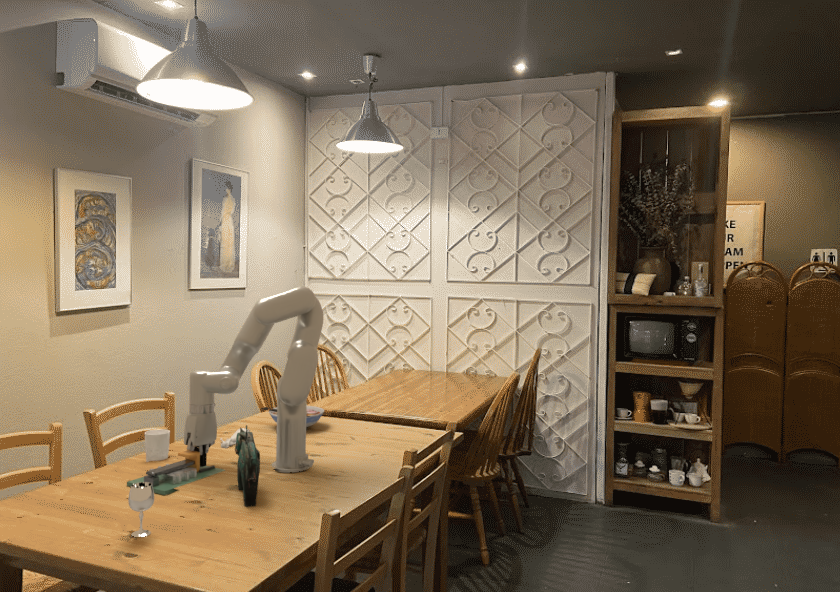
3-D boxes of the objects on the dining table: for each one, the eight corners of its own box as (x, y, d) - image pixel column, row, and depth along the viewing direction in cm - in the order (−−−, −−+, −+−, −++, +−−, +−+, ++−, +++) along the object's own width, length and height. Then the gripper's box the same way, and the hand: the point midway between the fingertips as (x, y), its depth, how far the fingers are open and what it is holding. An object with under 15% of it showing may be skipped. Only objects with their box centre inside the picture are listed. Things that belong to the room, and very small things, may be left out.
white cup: (160, 465, 212) (161, 435, 212) (139, 463, 214) (139, 433, 214) (174, 459, 220) (174, 430, 220) (153, 457, 222) (153, 428, 221)
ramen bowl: (337, 427, 272) (337, 408, 272) (300, 438, 252) (300, 417, 252) (293, 419, 285) (293, 400, 285) (254, 428, 266) (254, 409, 265)
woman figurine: (260, 427, 250) (236, 441, 233) (260, 438, 251) (237, 453, 233) (232, 425, 253) (207, 439, 236) (232, 436, 253) (208, 451, 236)
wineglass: (133, 529, 159) (133, 481, 159) (157, 529, 160) (157, 481, 160) (124, 538, 154) (124, 488, 153) (149, 538, 154) (149, 488, 154)
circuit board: (226, 473, 205) (226, 467, 205) (164, 495, 184) (165, 488, 184) (189, 465, 213) (189, 459, 213) (126, 485, 191) (126, 479, 191)
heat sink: (199, 476, 198) (199, 469, 198) (163, 489, 186) (163, 480, 186) (170, 470, 203) (170, 462, 203) (133, 482, 191) (134, 473, 191)
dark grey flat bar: (195, 463, 202) (195, 460, 202) (154, 476, 188) (154, 473, 188) (186, 462, 204) (187, 459, 204) (145, 474, 190) (145, 471, 190)
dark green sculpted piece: (233, 486, 194) (234, 419, 193) (255, 484, 196) (256, 418, 195) (239, 509, 175) (240, 435, 175) (263, 506, 177) (265, 434, 177)
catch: (199, 471, 203) (199, 452, 203) (189, 474, 199) (189, 455, 199) (188, 468, 205) (188, 449, 205) (177, 472, 201) (177, 453, 201)
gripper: (210, 403, 214) (209, 458, 215) (174, 411, 201) (173, 469, 202) (227, 406, 211) (226, 462, 211) (192, 414, 198) (191, 473, 198)
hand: (200, 465), depth 207 cm, fingers closed
